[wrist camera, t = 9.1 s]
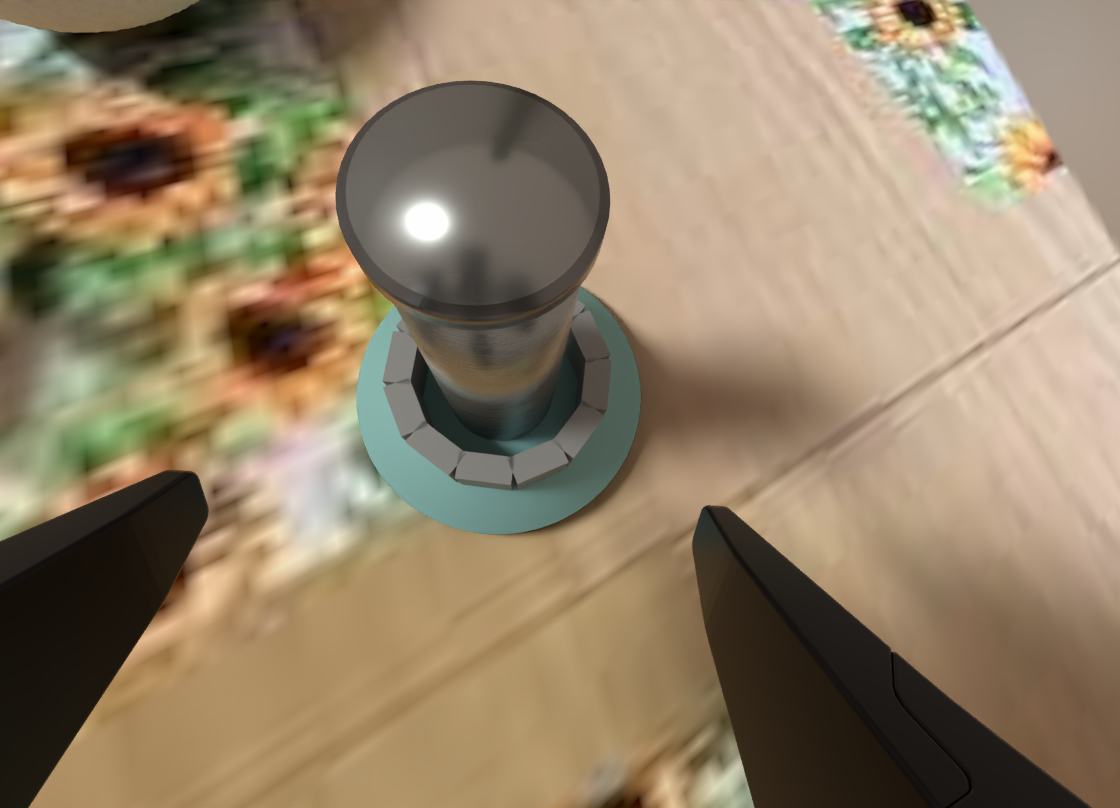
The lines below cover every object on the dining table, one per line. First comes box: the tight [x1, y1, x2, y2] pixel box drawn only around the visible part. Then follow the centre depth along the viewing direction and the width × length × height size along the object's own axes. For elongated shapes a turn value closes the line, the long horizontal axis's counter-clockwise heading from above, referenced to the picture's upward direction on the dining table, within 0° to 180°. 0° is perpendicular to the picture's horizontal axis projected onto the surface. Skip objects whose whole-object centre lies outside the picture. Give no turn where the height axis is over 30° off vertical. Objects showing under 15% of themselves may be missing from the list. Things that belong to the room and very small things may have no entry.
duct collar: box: [357, 286, 641, 534], centre depth 21 cm, size 12×12×3 cm
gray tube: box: [336, 81, 610, 441], centre depth 15 cm, size 5×5×13 cm
